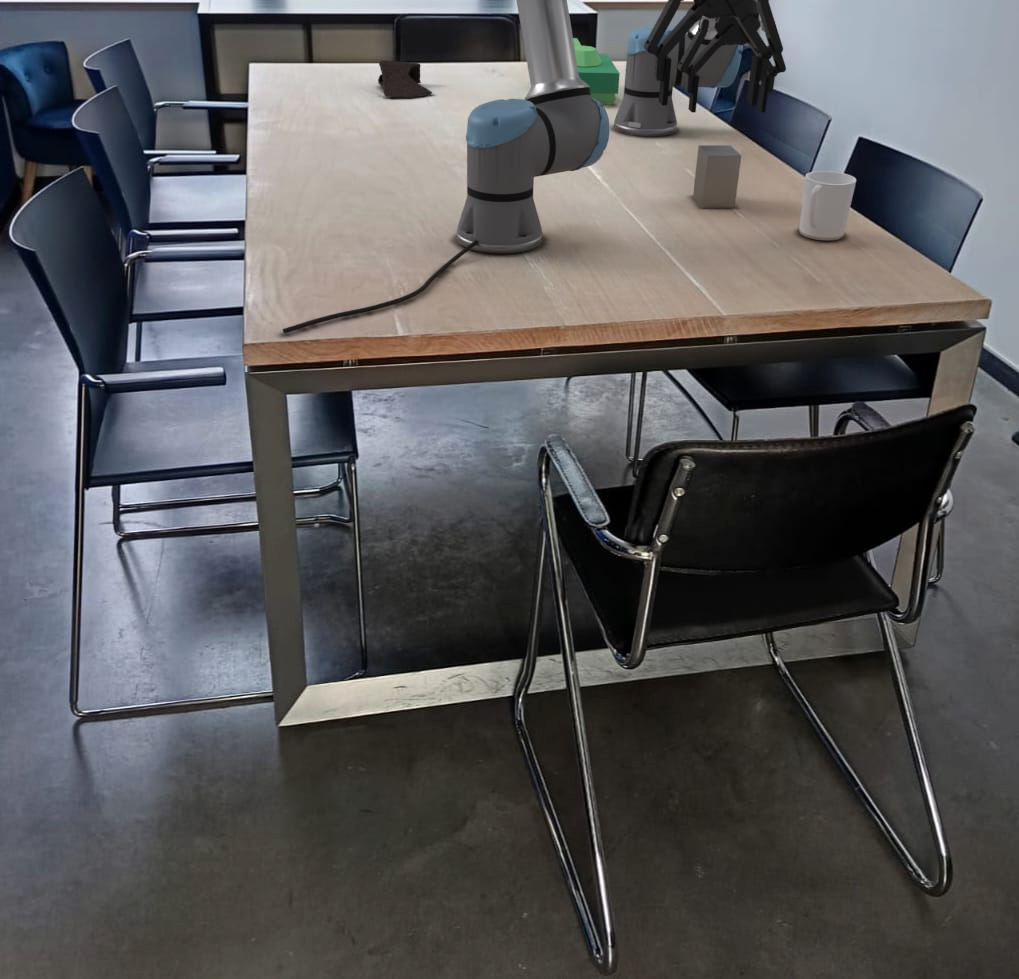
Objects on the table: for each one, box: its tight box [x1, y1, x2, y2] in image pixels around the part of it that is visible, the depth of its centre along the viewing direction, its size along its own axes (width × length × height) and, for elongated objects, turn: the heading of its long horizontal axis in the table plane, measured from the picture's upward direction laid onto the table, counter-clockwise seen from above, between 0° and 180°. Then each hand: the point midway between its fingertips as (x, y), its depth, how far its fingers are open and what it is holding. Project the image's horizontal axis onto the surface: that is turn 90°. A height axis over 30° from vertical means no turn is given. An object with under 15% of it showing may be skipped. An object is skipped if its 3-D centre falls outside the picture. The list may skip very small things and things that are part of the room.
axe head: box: [377, 59, 433, 99], centre depth 299 cm, size 18×8×15 cm
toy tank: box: [573, 37, 620, 105], centre depth 300 cm, size 18×12×35 cm
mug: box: [798, 170, 857, 241], centre depth 199 cm, size 11×9×10 cm
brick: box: [692, 144, 742, 209], centre depth 216 cm, size 8×7×10 cm
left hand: (707, 103), depth 164 cm, fingers open, 13 cm apart
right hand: (726, 111), depth 209 cm, fingers open, 13 cm apart
